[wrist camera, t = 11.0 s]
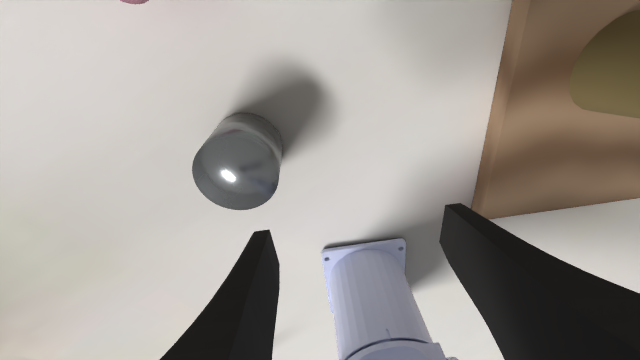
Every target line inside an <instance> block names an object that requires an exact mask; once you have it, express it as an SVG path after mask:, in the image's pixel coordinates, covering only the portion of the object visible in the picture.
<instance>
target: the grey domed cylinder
mask: <svg viewBox="0 0 640 360" xmlns="http://www.w3.org/2000/svg"><path fill="white" fill-rule="evenodd" d="M281 157H282V140H281V137H280V135H279V133H278V131H277V130H276V128H275V127H274V126H273V125H272V124H271V123H270V122H269V121H267V120H266V119H264V118H263V117H260V116H258V115H255V114H250V113H238V114H234V115H231V116H229V117H227V118H225V119H224V120H223V121H222V122H221V123H220V124H219V125H218V126H217V128H216V129H215V130H214V132H213V133H212V134H211V135H210V137H209V138H208V139H207V141H206V142H205V143H204V144H203V146H202V147H201V148H200V150H199V151H198V152H197V154H196V156H195V158H194V161H193V166H192V173H193V178H194V181H195V183H196V185H197V187H198V188H199V190H200V191H201V192H202V194H203V195H204V196H205V197H207V198H208V199H209V200H210V201H212V202H214V203H215V204H217V205H219V206H222V207H225V208H228V209H234V210H247V209H252V208H255V207H258V206H260V205H262V204H264V203H265V202H267V201H268V200H269V199H270V198H271V197H272V196H273V194H274V193H275V191H276V189H277V185H278V180H279V172H280V165H281Z"/></svg>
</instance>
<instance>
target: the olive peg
mask: <svg viewBox="0 0 640 360" xmlns="http://www.w3.org/2000/svg"><path fill="white" fill-rule="evenodd" d="M569 93H570V95H571V97H572V100H573V102H574V103H575V104H576V105H577V106H579V107H580V108H581V109H583V110H589V111H594V112H600V113H606V114H613V115H619V116H626V117H632V118H639V119H640V10H636V11H632V12H629V13H627V14H625V15H623V16H621V17H619V18H616V19H615V20H613V21H612V22H611V23H609V24H608V25H607V26H605V27H604V28H603V29H601V30H600V31H599V32H598V33H597V34H596V35H595V36H594V37H593V38H592V39H591V41H590V42H589V43H588V44H587V45H586V46H585V47H584V49H583V51H582V52H581V54H580V56H579V57H578V59H577V61H576V62H575V64H574V67H573V70H572V73H571V77H570V91H569Z"/></svg>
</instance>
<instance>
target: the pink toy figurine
mask: <svg viewBox="0 0 640 360" xmlns="http://www.w3.org/2000/svg"><path fill="white" fill-rule="evenodd" d="M120 1H122V2H126V3H130V4H142V3H145V2H147V1H148V0H120Z"/></svg>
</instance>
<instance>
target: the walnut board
mask: <svg viewBox="0 0 640 360" xmlns="http://www.w3.org/2000/svg"><path fill="white" fill-rule="evenodd" d="M636 10H640V0H513V2H512V7H511V12H510V17H509V22H508V27H507V32H506V37H505V42H504V47H503V52H502V57H501V62H500V67H499V72H498V77H497V82H496V87H495V92H494V97H493V102H492V107H491V112H490V117H489V122H488V127H487V132H486V137H485V142H484V147H483V153H482V158H481V163H480V168H479V173H478V178H477V183H476V188H475V193H474V198H473V203H472V208H471V210H473V211H475V212H476V213H478V214H480V215H481V216H483V217H485V218H486V219H494V218H501V217H508V216H515V215H522V214H529V213H537V212H544V211H551V210H558V209H565V208H572V207H579V206H586V205H593V204H600V203H607V202H615V201H622V200H629V199H636V198H640V119H639V118H632V117H626V116H619V115H613V114H606V113H600V112H594V111H589V110H583V109H581V108H580V107H579V106H577V105H576V104H575V103H574V102H573V100H572V97H571V95H570V93H569V91H570V77H571V73H572V70H573V67H574V64H575V62H576V61H577V59H578V57H579V56H580V54H581V52H582V51H583V49H584V47H585V46H586V45H587V44H588V43H589V42H590V41H591V39H592V38H593V37H594V36H595V35H596V34H597V33H598V32H599V31H600V30H601V29H603V28H604V27H605V26H607V25H608V24H609V23H611V22H612V21H613V20H615V19H616V18H619V17H621V16H623V15H625V14H627V13H629V12H632V11H636Z"/></svg>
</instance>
